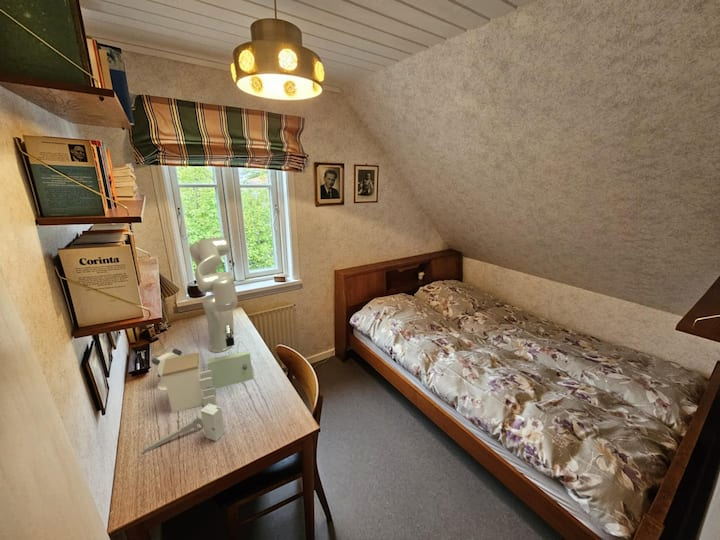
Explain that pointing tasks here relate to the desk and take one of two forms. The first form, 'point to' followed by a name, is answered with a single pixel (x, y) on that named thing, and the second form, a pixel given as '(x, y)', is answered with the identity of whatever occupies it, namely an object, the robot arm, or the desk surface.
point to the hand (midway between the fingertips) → (230, 340)
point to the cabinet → (187, 383)
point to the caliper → (176, 433)
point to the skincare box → (212, 422)
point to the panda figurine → (160, 365)
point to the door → (230, 369)
